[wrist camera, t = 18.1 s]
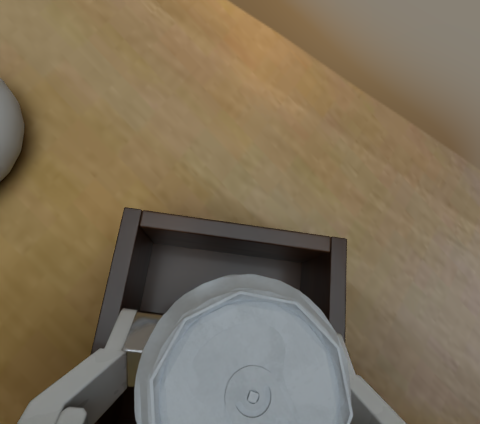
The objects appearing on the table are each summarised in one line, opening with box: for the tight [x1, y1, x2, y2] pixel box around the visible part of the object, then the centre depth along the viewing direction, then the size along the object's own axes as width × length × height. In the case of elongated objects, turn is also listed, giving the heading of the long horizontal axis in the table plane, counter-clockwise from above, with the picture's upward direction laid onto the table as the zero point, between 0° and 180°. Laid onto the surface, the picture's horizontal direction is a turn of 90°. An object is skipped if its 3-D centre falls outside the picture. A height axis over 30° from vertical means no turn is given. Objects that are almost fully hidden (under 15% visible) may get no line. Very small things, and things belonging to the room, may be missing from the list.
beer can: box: [134, 274, 353, 424], centre depth 12 cm, size 5×5×12 cm
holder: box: [91, 207, 347, 424], centre depth 16 cm, size 11×11×5 cm
